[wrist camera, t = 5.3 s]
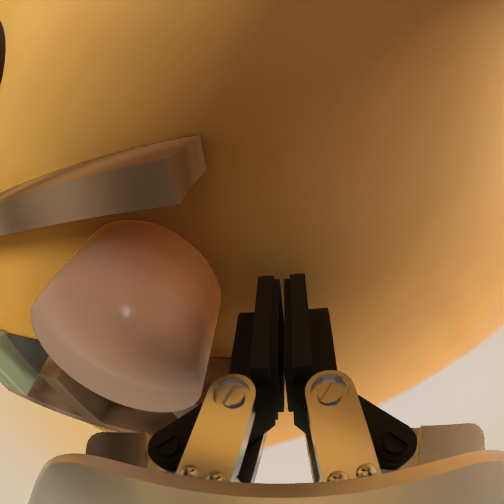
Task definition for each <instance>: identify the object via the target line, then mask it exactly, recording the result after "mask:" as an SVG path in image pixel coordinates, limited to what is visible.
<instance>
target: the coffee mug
mask: <svg viewBox="0 0 504 504" xmlns="http://www.w3.org/2000/svg"><path fill="white" fill-rule="evenodd" d="M4 61H5V35H4V29H3V26H2V23H1V22H0V83H1V78H2V74H3V68H4Z"/></svg>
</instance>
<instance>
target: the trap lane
mask: <svg viewBox="0 0 504 504" xmlns="http://www.w3.org/2000/svg"><path fill="white" fill-rule="evenodd" d="M206 169H207V168H206V163H205V157H204V152H203V147H202V141H201V136H200V135H195V136H190V137H184V138H179V139H174V140H169V141H164V142H159V143H155V144H150V145H146V146H141V147H137V148H133V149H129V150H125V151H121V152H117V153H114V154H110V155H106V156H103V157H99V158H96V159H92V160H89V161H86V162H83V163H79V164H76V165H73V166H70V167H67V168H64V169H61V170H58V171H55V172H52V173H50V174H47V175H44V176H41V177H39V178H36V179H33V180H31V181H28V182H26V183H23V184H21V185H18V186H16V187H14V188H11V189H9V190H6V191H4V192H2V193H0V236H4V235H8V234H12V233H17V232H21V231H26V230H31V229H36V228H41V227H45V226H50V225H56V224H61V223H66V222H72V221H77V220H83V219H88V218H94V217H100V216H106V215H112V214H119V213H125V212H132V211H139V210H146V209H153V208H160V207H168V206H176V205H180V204H181V202H182V201H183V200H184V198H185V197H186V195H187V194H188V193H189V191H190V190H191V189H192V187H193V186H194V185H195V183H196V182H197V181H198V180H199V178H200V177H201V176H202V174H203V173H204V172H205V170H206ZM230 364H231V358H209V361H208V365H207V370H206V375H205V379H204V384H203V389H202V394H201V397H200V398H199V400H198V401H197V402H196V403H195V404H194V405H192V406H191V407H189V408H187V409H184V410H180V411H176V412H151V411H144V410H139V409H135V408H131V407H128V406H124V405H121V404H119V403H116V402H113V401H111V400H109V399H106V398H104V397H102V396H100V395H98V394H96V393H95V392H93V391H91V390H89V389H88V388H86V387H85V386H83V385H81V384H80V383H79V382H77V381H76V380H74V379H73V378H72V377H71V376H69V375H68V374H67V373H66V372H65V371H64V370H62V369H61V368H60V367H59V366H58V365H57V364H56V363H55V362H54V361H53V359H52V358H51V357H50V356H49V355H48V353H47V352H46V351H45V349H44V348H43V347H42V345H41V343H40V342H39V340H35V339H31V338H26V337H22V336H18V335H14V334H10V333H6V332H5V331H3V330H0V382H1V383H2V384H3V385H4V386H5V387H6V388H7V389H8V390H9V391H11V392H13V393H15V394H17V395H19V396H21V397H24V398H26V399H28V400H30V401H32V402H34V403H37V404H39V405H41V406H44V407H47V408H49V409H51V410H54V411H57V412H59V413H61V414H64V415H67V416H70V417H72V418H75V419H78V420H81V421H84V422H87V423H90V424H94V425H97V426H100V427H104V428H107V429H111V430H114V431H118V432H122V433H131V432H147V433H148V434H155V433H156V432H157V431H159V430H161V429H162V428H164V427H165V426H167V425H169V424H170V423H172V422H174V421H175V420H177V419H178V418H180V417H181V416H183V415H185V414H186V413H188V412H189V411H191V410H192V409H194V408H195V407H197V406H198V405H200V404H201V403H203V402H204V400H205V397H206V394H207V392H208V389H209V388H210V386H211V384H212V383H213V382H214V381H215V380H216V379H218V378H220V377H222V376H224V375H228V374H229V370H230Z"/></svg>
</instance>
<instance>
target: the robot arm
mask: <svg viewBox="0 0 504 504" xmlns="http://www.w3.org/2000/svg"><path fill="white" fill-rule="evenodd" d="M285 382H286V392H287V402H288V411H289V412H294V425H296V426H297V427H298V428H299V429H301V430H302V431H303V432H304V433H305V439H306V445H307V450H308V456H309V462H310V467H311V472H312V478H313V483H296V484H260V483H254V481H255V477H256V474H257V470H258V466H259V462H260V459H261V455H262V451H263V447H264V443H265V439H266V435H267V431H268V430H270V429H271V428H272V427H273V426H275V420H278V412H284V385H285ZM28 504H504V451H499V450H485V448H484V434H483V431H482V430H481V428H480V427H479V426H477V425H475V424H471V423H467V424H454V425H434V426H421V427H420V428H410V427H409V426H408V425H406V424H404V423H403V422H401V421H399V420H398V419H396V418H394V417H393V416H391V415H389V414H388V413H386V412H385V411H383V410H381V409H380V408H378V407H377V406H375V405H373V404H372V403H370V402H369V401H367V400H365V399H364V398H362V397H361V396H359V395H358V394H357V392H356V389H355V386H354V384H353V382H352V380H351V378H349V377H348V376H347V375H346V374H344V373H342V372H340V371H337V367H336V359H335V351H334V344H333V337H332V330H331V324H330V317H329V311H328V308H318V309H308V302H307V291H306V281H305V274H291V275H290V279H284V316H283V306H282V296H281V286H280V279H275V280H274V276H260V277H258V285H257V294H256V303H255V312H250V313H240V314H239V316H238V321H237V327H236V334H235V340H234V346H233V352H232V358H231V364H230V370H229V374H228V375H224V376H222V377H220V378H218V379H216V380H215V381H214V382H213V383H212V384H211V386H210V388H209V389H208V392H207V394H206V397H205V400H204V402H203V403H201V404H200V405H198V406H197V407H195V408H194V409H192V410H191V411H189V412H188V413H186V414H185V415H183V416H181V417H180V418H178V419H177V420H175V421H174V422H172V423H170V424H169V425H167V426H165V427H164V428H162V429H161V430H159V431H157V432H156V433H155V434H148V433H147V432H131V433H114V432H101V433H96V434H94V435H93V436H91V438H90V439H89V440H88V443H87V447H86V454H64V455H60V456H56V457H54V458H52V459H50V460H49V461H48V462H47V463H46V464H45V465H44V467H43V468H42V470H41V472H40V474H39V476H38V478H37V480H36V483H35V485H34V488H33V491H32V494H31V497H30V500H29V503H28Z"/></svg>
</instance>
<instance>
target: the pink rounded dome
mask: <svg viewBox="0 0 504 504" xmlns="http://www.w3.org/2000/svg"><path fill="white" fill-rule="evenodd" d="M220 306H221V290H220V286H219V282H218V279H217V277H216V275H215V273H214V271H213V269H212V267H211V266H210V264H209V263H208V261H207V260H206V259H205V257H204V256H203V255H202V254H201V253H200V252H199V251H198V250H197V249H196V248H195V247H194V246H193V245H192V244H191V243H189V242H188V241H187V240H186V239H184V238H183V237H181V236H180V235H178V234H177V233H175V232H173V231H171V230H169V229H167V228H165V227H163V226H160V225H157V224H155V223H151V222H147V221H143V220H134V219H128V220H118V221H113V222H110V223H108V224H105V225H104V226H102V227H100V228H99V229H98V230H96V231H95V232H94V233H93V234H92V235H91V236H90V237H89V238H88V239H87V240H86V241H85V243H84V244H83V245H82V246H81V247H80V248H79V249H78V250H77V251H76V252H75V254H74V255H73V256H72V257H71V258H70V259H69V260H68V261H67V263H66V264H65V265H64V266H63V267H62V268H61V270H60V271H59V272H58V273H57V274H56V275H55V277H54V278H53V279H52V280H51V282H50V283H49V284H48V285H47V286H46V288H45V289H44V290H43V291H42V293H41V294H40V295H39V297H38V298H37V299H36V300H35V302H34V304H33V306H32V310H31V320H32V325H33V329H34V332H35V334H36V336H37V338H38V340H39V342H40V343H41V345H42V347H43V348H44V349H45V351H46V352H47V353H48V355H49V356H50V357H51V358H52V359H53V361H54V362H55V363H56V364H57V365H58V366H59V367H60V368H61V369H62V370H64V371H65V372H66V373H67V374H68V375H69V376H71V377H72V378H73V379H74V380H76V381H77V382H79V383H80V384H81V385H83V386H85V387H86V388H88V389H89V390H91V391H93V392H95V393H96V394H98V395H100V396H102V397H104V398H106V399H109V400H111V401H113V402H116V403H119V404H121V405H124V406H128V407H131V408H135V409H139V410H144V411H151V412H176V411H180V410H184V409H187V408H189V407H191V406H192V405H194V404H195V403H196V402H197V401H198V400H199V398H200V397H201V394H202V389H203V384H204V379H205V375H206V370H207V365H208V361H209V356H210V351H211V347H212V342H213V338H214V333H215V329H216V324H217V320H218V315H219V311H220Z"/></svg>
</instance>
